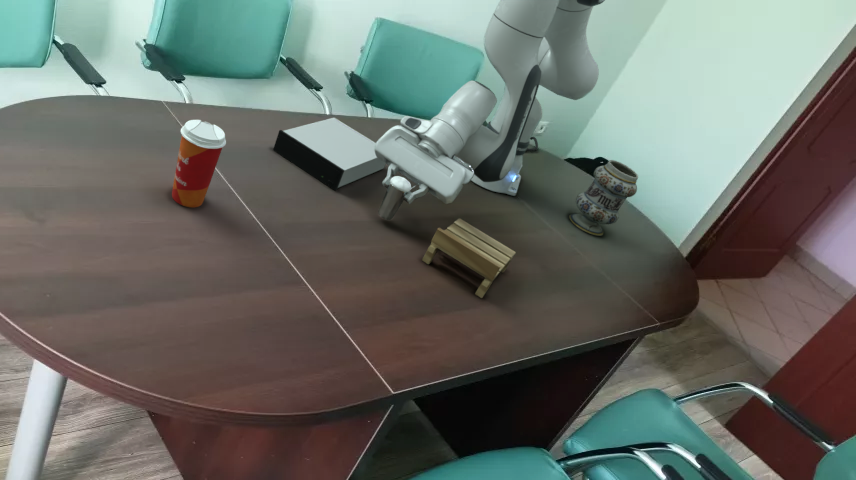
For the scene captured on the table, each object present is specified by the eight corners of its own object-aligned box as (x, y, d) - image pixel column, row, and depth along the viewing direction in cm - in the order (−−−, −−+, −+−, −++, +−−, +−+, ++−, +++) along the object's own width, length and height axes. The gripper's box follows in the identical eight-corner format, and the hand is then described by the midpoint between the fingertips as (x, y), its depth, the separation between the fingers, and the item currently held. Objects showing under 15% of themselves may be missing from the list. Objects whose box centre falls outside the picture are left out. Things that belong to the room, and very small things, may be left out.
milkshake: (396, 226, 139) (417, 187, 133) (373, 215, 138) (393, 175, 133) (400, 216, 142) (420, 178, 137) (377, 205, 142) (396, 166, 136)
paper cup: (169, 182, 123) (185, 113, 115) (210, 194, 125) (229, 127, 117) (162, 203, 117) (179, 132, 109) (206, 215, 119) (225, 146, 111)
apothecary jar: (614, 238, 181) (654, 182, 171) (587, 238, 174) (627, 180, 164) (584, 212, 188) (620, 157, 179) (557, 211, 181) (593, 153, 172)
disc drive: (272, 150, 149) (279, 130, 146) (327, 133, 167) (333, 115, 164) (334, 190, 144) (342, 171, 141) (384, 169, 162) (391, 151, 159)
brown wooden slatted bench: (450, 235, 147) (466, 205, 143) (505, 269, 144) (523, 239, 140) (420, 261, 133) (437, 229, 129) (480, 299, 130) (500, 267, 126)
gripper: (478, 177, 138) (436, 227, 136) (401, 128, 145) (360, 174, 143) (478, 162, 132) (435, 214, 130) (398, 111, 139) (355, 160, 137)
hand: (395, 193), depth 137 cm, fingers closed on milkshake, 4 cm apart
